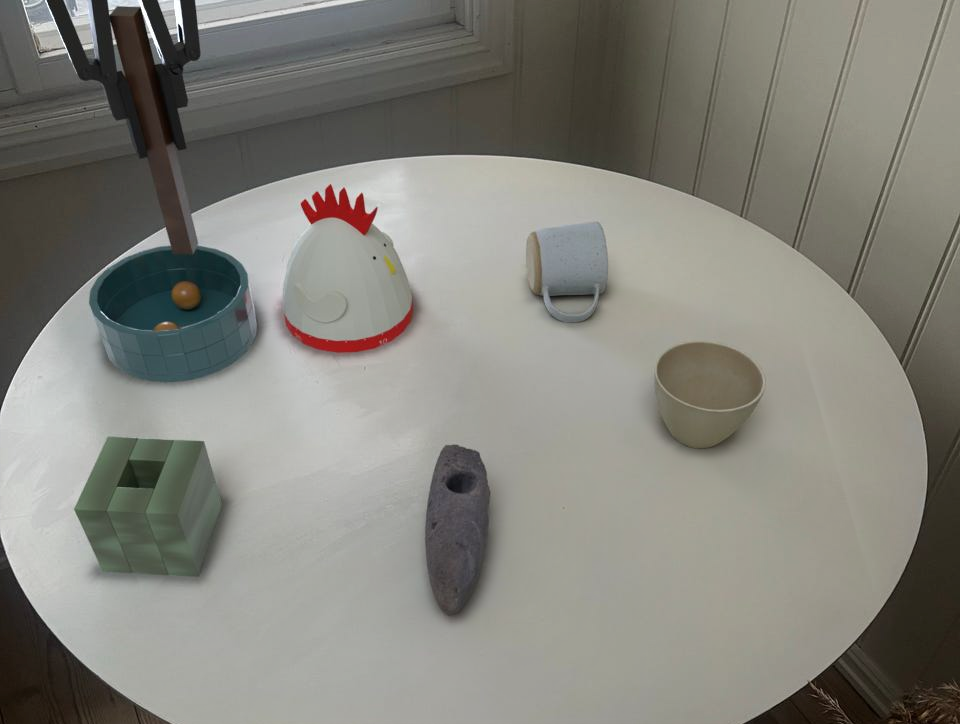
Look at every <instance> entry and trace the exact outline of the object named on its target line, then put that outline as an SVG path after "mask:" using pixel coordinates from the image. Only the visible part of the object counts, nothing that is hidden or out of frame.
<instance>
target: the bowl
mask: <svg viewBox="0 0 960 724" xmlns="http://www.w3.org/2000/svg"><path fill="white" fill-rule="evenodd" d="M182 281H189V282H192V283H194V284H195V285H196V286H197V287H198V288H199V290H200V292H201V300H200V303H199V304H198V305H197V306H196V307H195V308H193V309H190V310H184V309H181V308H179V307H178V306H176V305H175V303H174V302H173V300H172V290H173V288H174V286H175V285H176V284H178V283H179V282H182ZM251 289H252V288H251V285H250V280H249V274H248V272H247V271H246V269H245V266H244V265H243V263H242V262H240V261H239V259H236V258H235V257H234V256H233V255H231V254H230V253H227V252H225V251H223V250H220V249H217V248H215V247H210V246H205V245H199V244H198V245H197V247H196V249H195V251H194V253H193V255H190V254H173V252H172V249H171V245H162V246H157V247H152V248H148V249H144V250H141V251H138V252H135V253H132V254H130V255H128V256H126V257H123V258H122V259H120V260H118V261H117V262H116V263H113V264H112V265H110V266H109V267H107V268H106V269H105V270H104V271H103V272H102V273H101V274H100V275H99V276H97V278H96V280H95V281H94V283H93V285H92V286H91V288H90V291H89V297H88V304H89V307H90V310H91V313H92V317H93V319H94V321H95V324H96V327H97V329H98V332H99V335H100V338H101V341H102V344H103V346H104V349H105V352H106V354H107V356H108V359H109V361H110V362H111V363H112V364H113V365H114V366H115V367H116V368H117V369H118V370H119V371H121V372H123V373H124V374H126V375H128V376H131V377H132V378H136V379H139V380H143V381H148V382H154V383H155V382H157V383H178V382H179V383H181V382H187V381H193V380H197V379H201V378H205V377H207V376H210V375H213V374H216V373H217V372H220V371H222V370H224V369H226V368H227V367H229V366H231V365H232V364H234V363H235V362H237V361H238V360H240V359H241V358H242V357H243V356H244V355H245V354H246V353H247V352H248V351H249V349H250V348H251V347H252V345H253V343H254V342H255V339H256V336H257V332H258V322H257V317H256V310H255V305H254V299H253V294H252V290H251ZM166 321H168V322H173V323H175V324H177V325H178V326H179V327H180V328H179V329H173V330H164V331H153V330H154V328H155V327H156V326H157V325H158V324H159V323H161V322H166Z"/></svg>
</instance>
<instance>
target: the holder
mask: <svg viewBox="0 0 960 724" xmlns="http://www.w3.org/2000/svg"><path fill="white" fill-rule="evenodd" d="M222 506H223V504H222V499H221V496H220V493H219V489H218V486H217V482H216V478H215V475H214V471H213V468H212V464H211V461H210V457H209V454H208V451H207V446H206V443H205V441H204V440H192V439H191V440H190V439H189V440H188V439H169V438H168V439H167V438H148V437H147V438H146V437H133V436H132V437H129V436H107V437H106V439H105V442H104V443H103V446H102V448H101V450H100V452H99V453H98V457H97V459H96V461H95V463H94V466H93V468H92V470H91V471H90V474H89V476H88V478H87V480H86V483H85V485H84V487H83V489H82V491H81V493H80V494H79V498H78V499H77V502H76V504H75V506H74V508H73V510H74V512H75V515H76V517H77V519H78V521H79V523H80V526H81V528H82V530H83V532H84V534H85V536H86V538H87V541H88V543H89V545H90V547H91V549H92V552H93V554H94V555H95V558H96V560H97V562H98V564H99V566H100V568H101V571H102V572H103V573H114V574H115V573H116V574H117V573H118V574H119V573H120V574H135V575H151V576H152V575H154V576H155V575H156V576H171V577H173V576H175V577H193V578H199V577H200V574H201V571H202V569H203V565H204V562H205V559H206V557H207V556H206V555H207V553H208V550H209V547H210V543H211V540H212V538H213V535H214V531H215V528H216V525H217V522H218V518H219V515H220V513H221V509H222Z"/></svg>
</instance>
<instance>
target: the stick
mask: <svg viewBox="0 0 960 724" xmlns="http://www.w3.org/2000/svg"><path fill="white" fill-rule="evenodd" d="M109 15H110V23H111V30H112V34H113V36H114V40H115V44H116V48H117V51H118V54H119V59H120V62H121V66H122V69H123V70H122V71H123V74H124V76H125V78H126V79H127V81H128V83H129V86H130V90H131V94H132V97H133V101H134V105H135V109H136V112H137V116H138V120H139V124H140V127H141V131H142V135H143V139H144V142H145V146H146V150H147V154H148V157H146V160H147V163H148V167H149V170H150V174H151V177H152V178H151V179H152V181H153V185H154V189H155V192H156V196H157V200H158V204H159V208H160V211H161V215H162V219H163V222H164V226H165V230H166V233H167V237H168V241H169V246H171V249H172V252H173V254H190V255H193V253H194V251H195V249H196V247H197V245H199V241H198V236H197V231H196V228H195V224H194V220H193V215H192V212H191V208H190V203H189V199H188V195H187V190H186V187H185V182H184V178H183V174H182V170H181V165H180V162H179V158H178V154H177V153H178V152H177V150H176V149H177V148H176V146H175V144H174V142H173V137H172V133H171V129H170V125H169V121H168V117H167V113H166V109H165V105H164V100H163V96H162V92H161V88H160V84H159V80H158V76H157V72H156V67H155V65H156V63H155V60H154V54H153V51H152V46H151V42H150V38H149V34H148V30H147V25H146V21H145V16H144V14H143V11H142V9H141V6H123V5H122V6H120V5H117V6H116V7H115V8H114V9H113V10H112V11H111V13H109Z"/></svg>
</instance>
